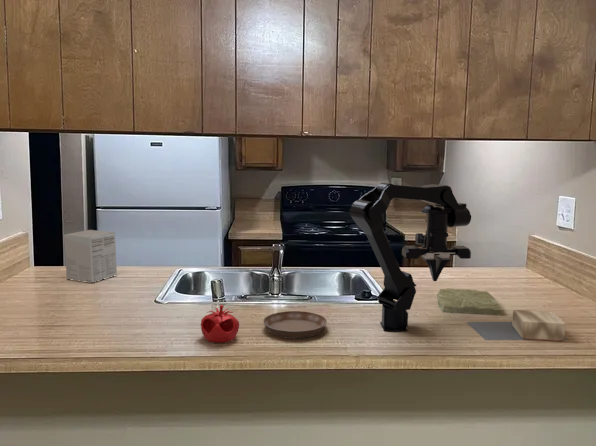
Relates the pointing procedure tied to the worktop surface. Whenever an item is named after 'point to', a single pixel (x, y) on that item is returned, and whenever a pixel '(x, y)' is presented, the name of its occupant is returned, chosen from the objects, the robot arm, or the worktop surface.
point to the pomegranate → (219, 326)
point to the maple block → (538, 325)
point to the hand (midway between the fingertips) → (434, 280)
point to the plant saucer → (294, 324)
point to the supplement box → (90, 255)
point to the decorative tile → (468, 302)
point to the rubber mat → (497, 331)
